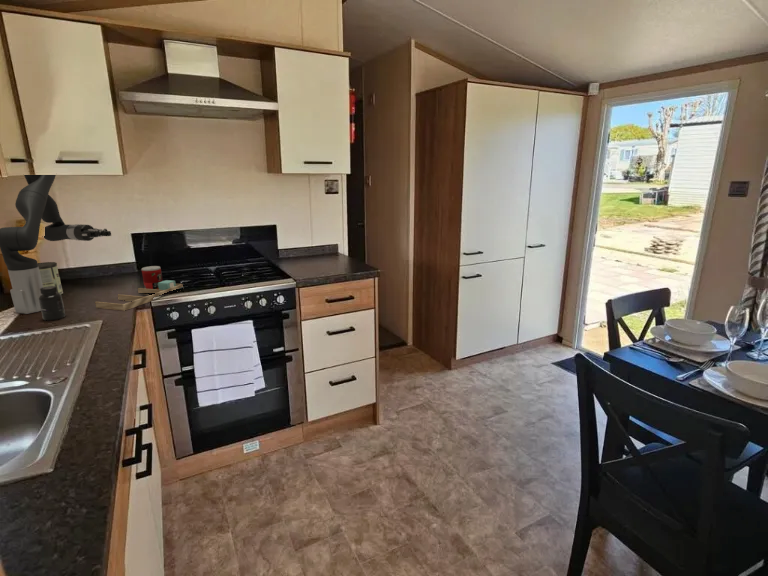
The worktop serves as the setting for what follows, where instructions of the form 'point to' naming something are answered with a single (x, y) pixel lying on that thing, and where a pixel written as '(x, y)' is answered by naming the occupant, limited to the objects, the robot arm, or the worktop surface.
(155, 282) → the canned food
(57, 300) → the supplement bottle
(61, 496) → the worktop surface
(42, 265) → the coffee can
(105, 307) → the bay rack
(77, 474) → the worktop surface
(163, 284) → the plain green block
